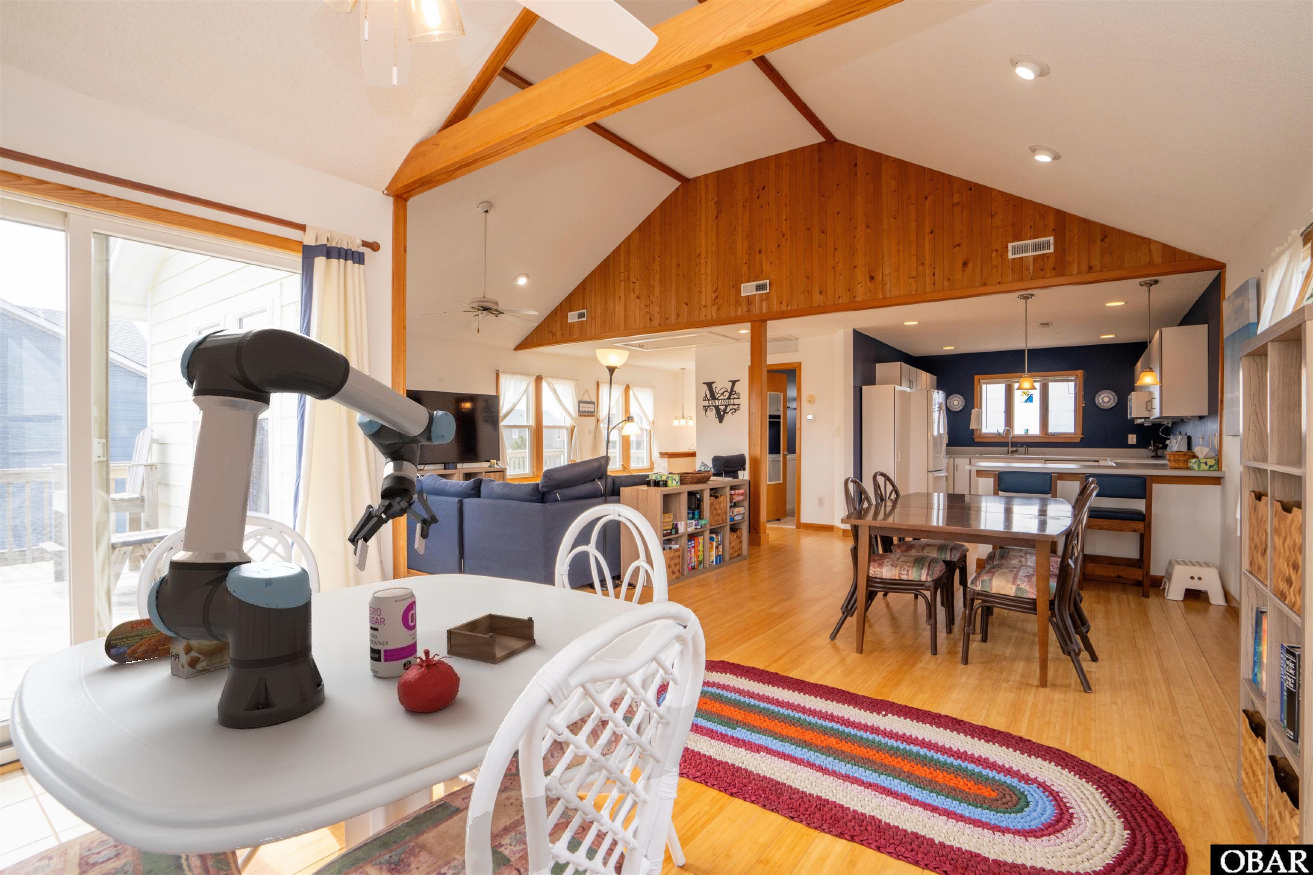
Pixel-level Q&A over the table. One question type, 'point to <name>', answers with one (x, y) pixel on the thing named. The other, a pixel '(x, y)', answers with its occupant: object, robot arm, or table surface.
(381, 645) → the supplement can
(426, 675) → the red tomato
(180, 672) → the coffee box
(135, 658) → the tin
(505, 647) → the tray
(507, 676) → the table surface
